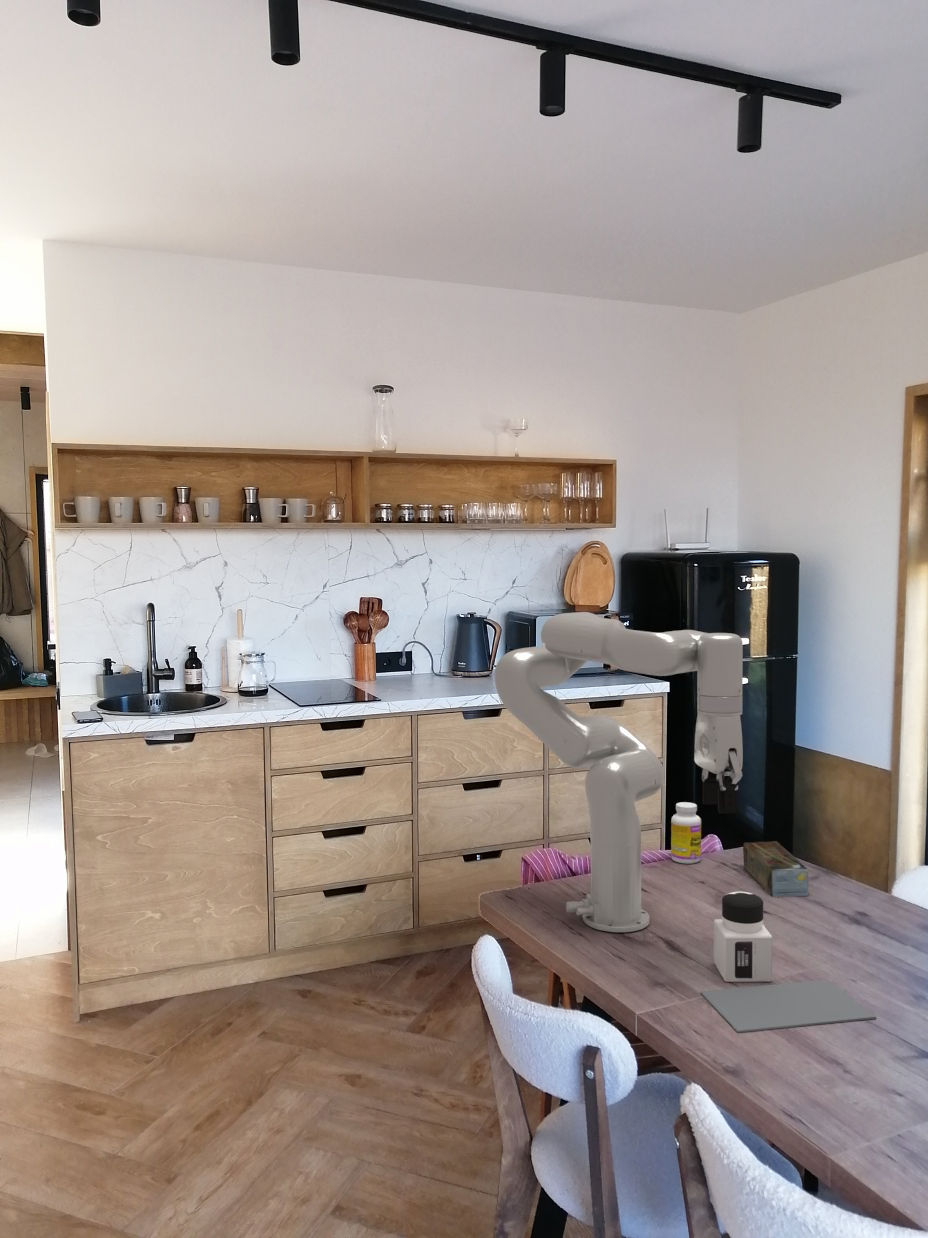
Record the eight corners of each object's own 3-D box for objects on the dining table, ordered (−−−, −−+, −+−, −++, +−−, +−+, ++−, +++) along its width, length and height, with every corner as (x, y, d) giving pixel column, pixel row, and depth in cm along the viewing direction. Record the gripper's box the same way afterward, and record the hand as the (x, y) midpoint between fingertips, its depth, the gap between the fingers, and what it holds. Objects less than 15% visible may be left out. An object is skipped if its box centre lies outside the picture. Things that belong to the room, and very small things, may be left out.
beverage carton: (770, 898, 195) (770, 866, 194) (741, 868, 214) (741, 839, 213) (809, 897, 195) (809, 865, 194) (777, 868, 214) (777, 838, 214)
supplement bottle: (691, 866, 215) (691, 810, 214) (665, 860, 219) (665, 805, 218) (706, 859, 220) (706, 804, 219) (680, 854, 224) (680, 799, 223)
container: (772, 982, 155) (773, 903, 155) (724, 982, 156) (725, 904, 155) (759, 963, 163) (759, 887, 162) (713, 963, 163) (713, 887, 162)
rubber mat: (737, 1033, 139) (737, 1031, 139) (700, 993, 152) (700, 991, 152) (876, 1019, 143) (876, 1017, 143) (828, 981, 155) (828, 979, 155)
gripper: (679, 698, 173) (679, 798, 174) (720, 713, 157) (720, 822, 158) (718, 697, 175) (718, 795, 176) (763, 711, 158) (763, 820, 159)
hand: (719, 807), depth 167 cm, fingers open, 5 cm apart
